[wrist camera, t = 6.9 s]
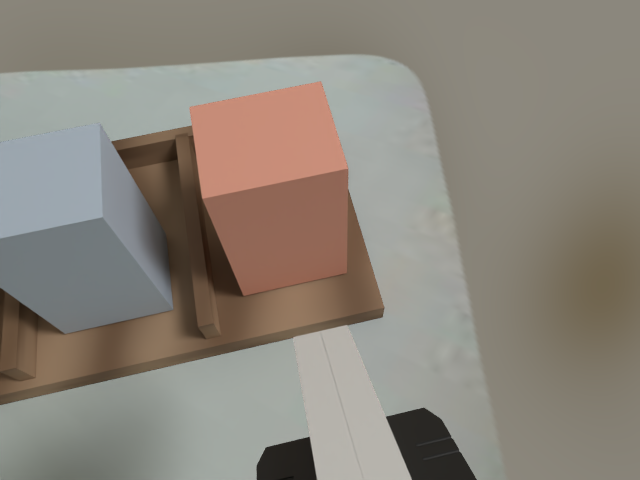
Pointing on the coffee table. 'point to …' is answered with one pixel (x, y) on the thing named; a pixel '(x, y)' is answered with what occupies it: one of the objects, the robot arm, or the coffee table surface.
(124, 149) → the wooden compartment tray
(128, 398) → the coffee table surface
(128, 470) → the coffee table surface
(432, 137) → the coffee table surface
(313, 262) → the salmon pink block
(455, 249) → the coffee table surface
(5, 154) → the light blue block
